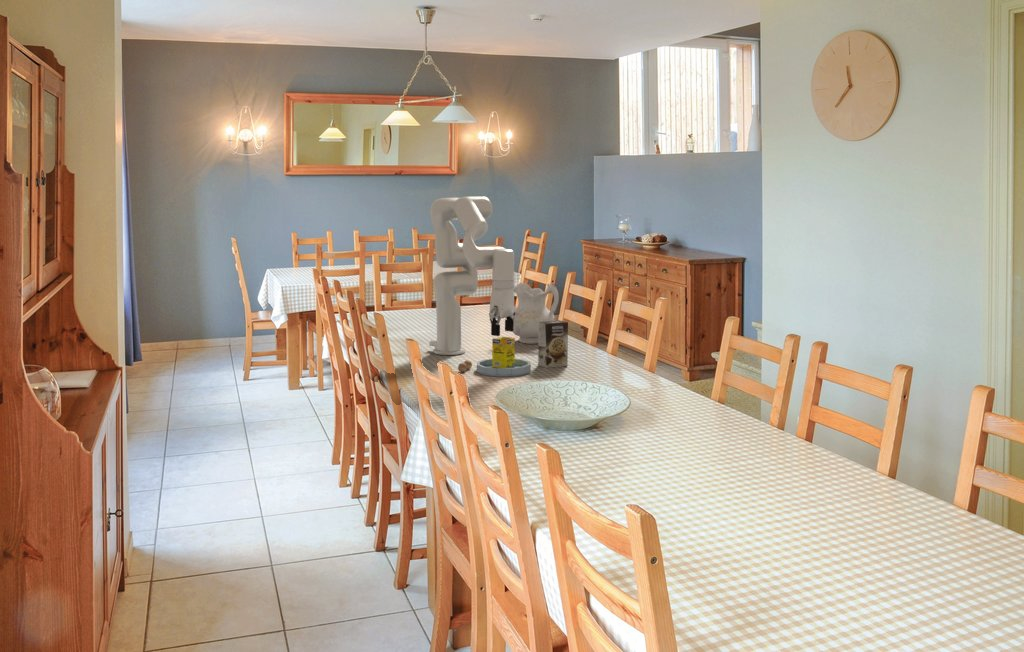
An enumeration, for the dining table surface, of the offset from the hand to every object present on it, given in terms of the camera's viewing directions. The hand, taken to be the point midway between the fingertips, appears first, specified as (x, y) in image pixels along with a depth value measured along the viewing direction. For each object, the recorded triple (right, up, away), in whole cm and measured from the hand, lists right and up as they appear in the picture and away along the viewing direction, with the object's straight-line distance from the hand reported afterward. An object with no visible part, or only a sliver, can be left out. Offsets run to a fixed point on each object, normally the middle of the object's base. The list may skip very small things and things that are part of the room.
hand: (502, 333), depth 318 cm
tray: (0, -13, +1) cm, 13 cm away
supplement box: (0, -13, +2) cm, 13 cm away
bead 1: (-14, -14, 0) cm, 19 cm away
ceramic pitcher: (+13, -4, +61) cm, 62 cm away
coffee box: (+18, -12, +11) cm, 24 cm away
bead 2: (-12, -13, +5) cm, 19 cm away
